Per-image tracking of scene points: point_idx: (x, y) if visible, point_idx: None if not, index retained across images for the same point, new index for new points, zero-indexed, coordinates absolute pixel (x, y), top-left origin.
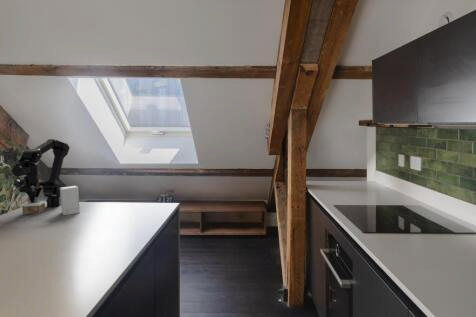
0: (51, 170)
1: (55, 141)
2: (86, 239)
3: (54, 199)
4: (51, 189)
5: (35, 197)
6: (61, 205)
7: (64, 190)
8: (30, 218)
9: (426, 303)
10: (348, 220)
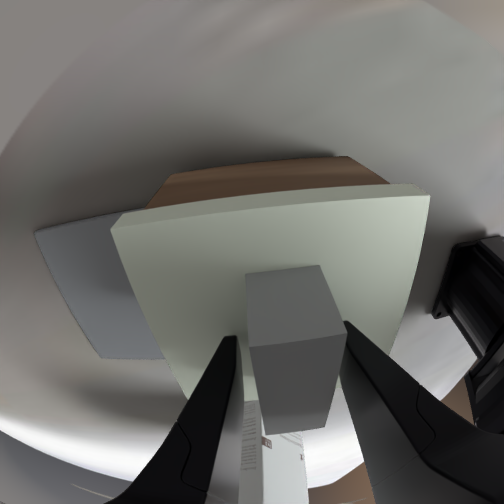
0: None
1: None
2: (42, 434)
3: (475, 337)
4: (496, 427)
5: (325, 405)
6: (252, 441)
7: None
8: (92, 296)
9: (75, 485)
10: None
